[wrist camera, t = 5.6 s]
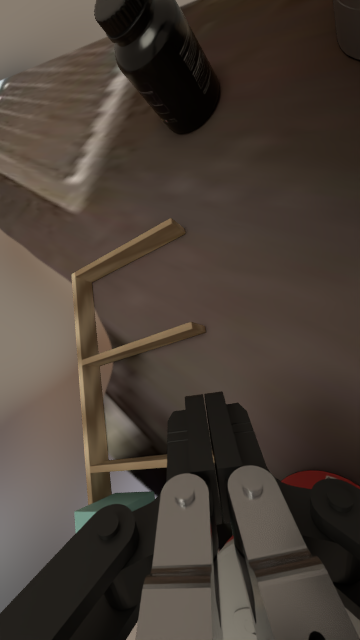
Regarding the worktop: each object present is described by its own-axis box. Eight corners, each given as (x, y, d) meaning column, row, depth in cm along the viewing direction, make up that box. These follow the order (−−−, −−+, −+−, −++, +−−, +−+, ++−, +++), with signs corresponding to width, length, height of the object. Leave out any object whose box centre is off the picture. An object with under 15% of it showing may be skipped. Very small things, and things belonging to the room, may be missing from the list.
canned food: (256, 474, 23) (180, 538, 14) (369, 458, 19) (368, 530, 10) (291, 594, 21) (227, 769, 11) (428, 601, 17) (497, 866, 8)
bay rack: (88, 280, 38) (71, 274, 35) (184, 228, 31) (170, 218, 29) (116, 588, 28) (95, 605, 26) (264, 615, 21) (252, 641, 19)
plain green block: (114, 493, 30) (73, 511, 26) (154, 491, 28) (115, 511, 24) (120, 550, 29) (78, 580, 24) (162, 553, 26) (123, 587, 22)
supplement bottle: (193, 69, 34) (119, -61, 24) (234, 85, 30) (167, -60, 20) (157, 124, 35) (74, 25, 25) (191, 145, 32) (110, 40, 22)
